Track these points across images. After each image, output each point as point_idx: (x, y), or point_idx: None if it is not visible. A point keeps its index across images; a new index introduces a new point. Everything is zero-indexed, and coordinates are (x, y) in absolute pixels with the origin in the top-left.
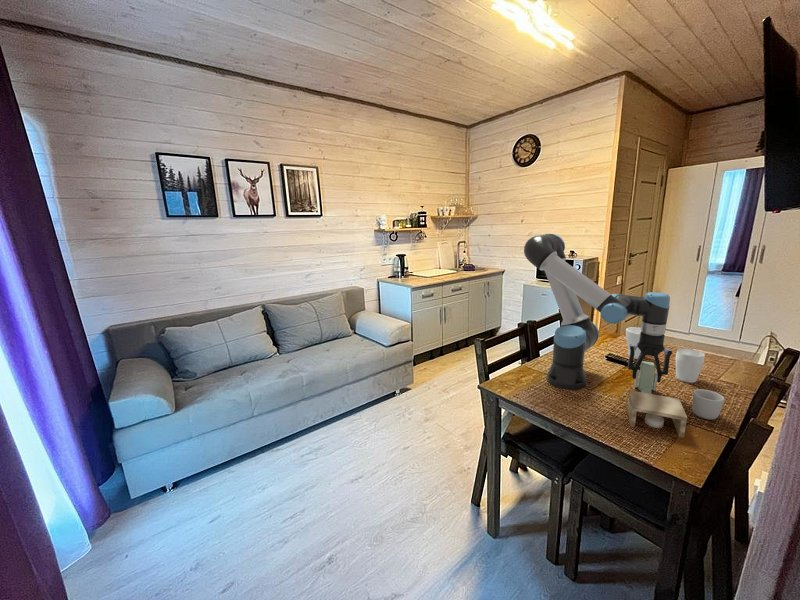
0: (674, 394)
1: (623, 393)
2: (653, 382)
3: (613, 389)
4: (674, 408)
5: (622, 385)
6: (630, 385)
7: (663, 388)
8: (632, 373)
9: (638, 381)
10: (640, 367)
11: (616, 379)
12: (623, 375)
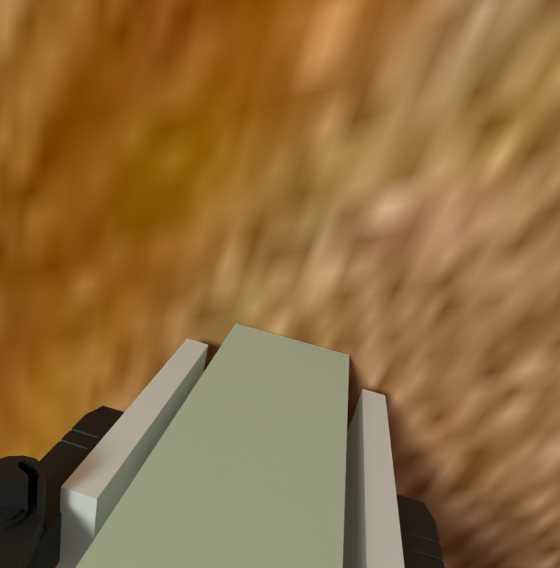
0: (547, 470)
1: None
2: (352, 471)
3: (7, 418)
4: None
5: (88, 333)
6: (163, 323)
7: (507, 351)
8: (55, 456)
9: (217, 353)
10: (99, 538)
11: (44, 192)
12: (139, 32)
